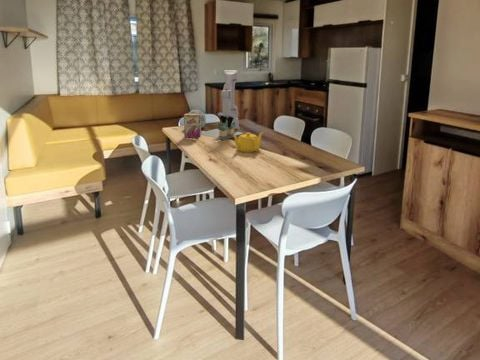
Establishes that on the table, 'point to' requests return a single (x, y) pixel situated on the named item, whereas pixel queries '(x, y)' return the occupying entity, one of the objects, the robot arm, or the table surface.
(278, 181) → the table surface
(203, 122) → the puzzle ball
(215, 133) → the board
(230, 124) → the robot arm
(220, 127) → the beam
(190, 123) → the candy bar box
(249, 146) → the teapot
